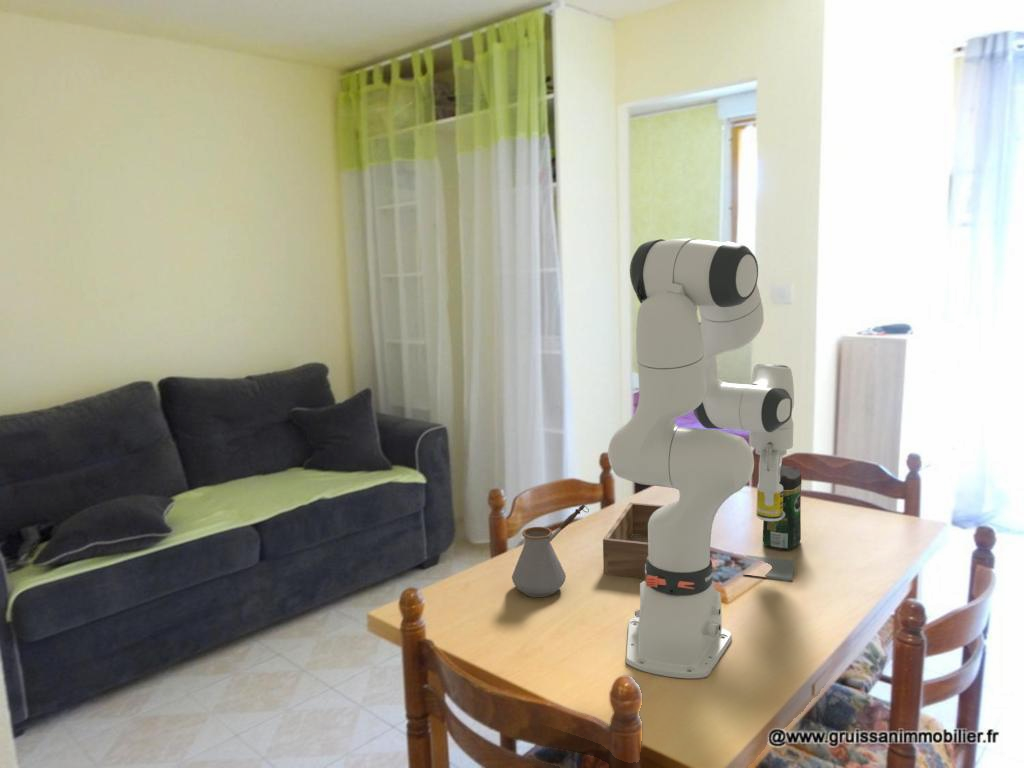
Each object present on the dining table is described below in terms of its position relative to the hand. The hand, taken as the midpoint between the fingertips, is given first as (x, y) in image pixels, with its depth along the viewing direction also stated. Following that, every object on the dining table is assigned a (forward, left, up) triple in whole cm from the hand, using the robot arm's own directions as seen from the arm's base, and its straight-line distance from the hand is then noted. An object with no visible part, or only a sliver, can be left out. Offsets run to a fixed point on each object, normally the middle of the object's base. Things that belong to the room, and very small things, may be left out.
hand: (769, 499), depth 159 cm
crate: (0, +27, -16) cm, 31 cm away
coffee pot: (-20, +43, -16) cm, 50 cm away
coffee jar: (+16, -2, -16) cm, 23 cm away
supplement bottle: (0, 0, -4) cm, 4 cm away
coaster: (0, 0, -16) cm, 16 cm away
